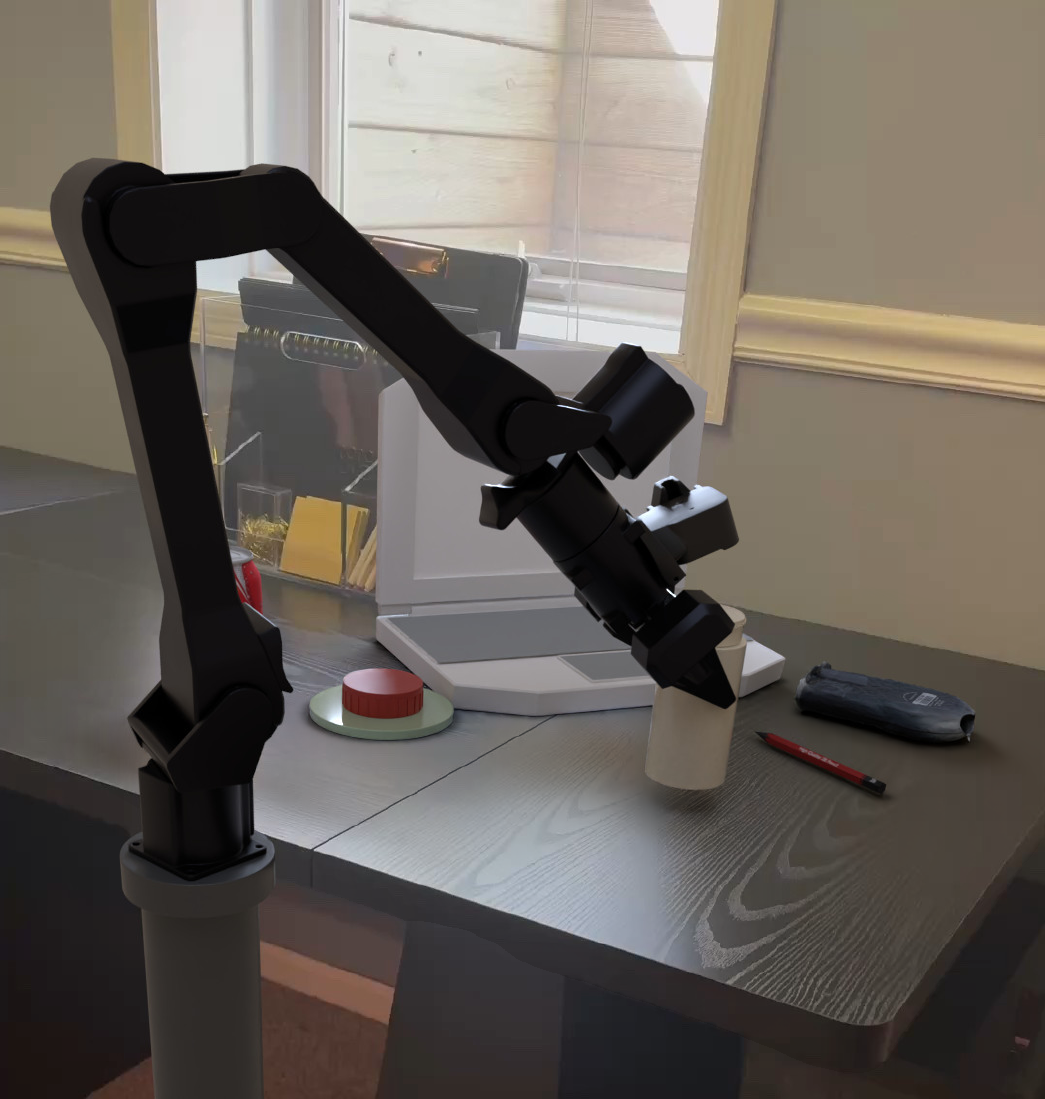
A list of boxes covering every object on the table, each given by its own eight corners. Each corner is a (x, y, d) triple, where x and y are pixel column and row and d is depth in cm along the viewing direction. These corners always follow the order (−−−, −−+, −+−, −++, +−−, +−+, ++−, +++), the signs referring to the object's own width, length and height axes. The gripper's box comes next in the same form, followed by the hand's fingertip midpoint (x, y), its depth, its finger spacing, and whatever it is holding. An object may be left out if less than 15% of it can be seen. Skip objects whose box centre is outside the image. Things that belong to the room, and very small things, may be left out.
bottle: (696, 797, 101) (721, 628, 96) (628, 772, 105) (649, 608, 99) (740, 777, 106) (767, 614, 100) (674, 753, 109) (696, 595, 103)
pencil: (756, 736, 119) (758, 724, 119) (884, 793, 110) (887, 781, 110) (749, 737, 119) (751, 726, 119) (877, 795, 110) (879, 783, 109)
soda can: (281, 698, 120) (279, 556, 115) (213, 715, 116) (207, 568, 110) (231, 676, 124) (226, 538, 119) (162, 692, 120) (154, 549, 114)
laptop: (468, 724, 118) (484, 387, 105) (374, 639, 137) (378, 345, 124) (803, 693, 131) (853, 390, 118) (674, 619, 150) (706, 351, 137)
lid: (396, 687, 122) (397, 664, 121) (438, 711, 118) (439, 687, 117) (327, 698, 119) (327, 674, 118) (367, 723, 114) (368, 699, 113)
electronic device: (787, 733, 125) (960, 749, 118) (791, 670, 123) (967, 682, 116) (819, 719, 133) (983, 733, 126) (823, 659, 131) (990, 670, 124)
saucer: (382, 751, 111) (382, 742, 111) (279, 711, 118) (279, 702, 117) (482, 717, 120) (483, 708, 119) (381, 681, 126) (381, 672, 126)
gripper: (726, 474, 85) (858, 653, 93) (633, 422, 101) (753, 579, 109) (587, 601, 87) (728, 766, 95) (518, 530, 103) (643, 677, 111)
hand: (715, 689), depth 102 cm, fingers closed on bottle, 6 cm apart
